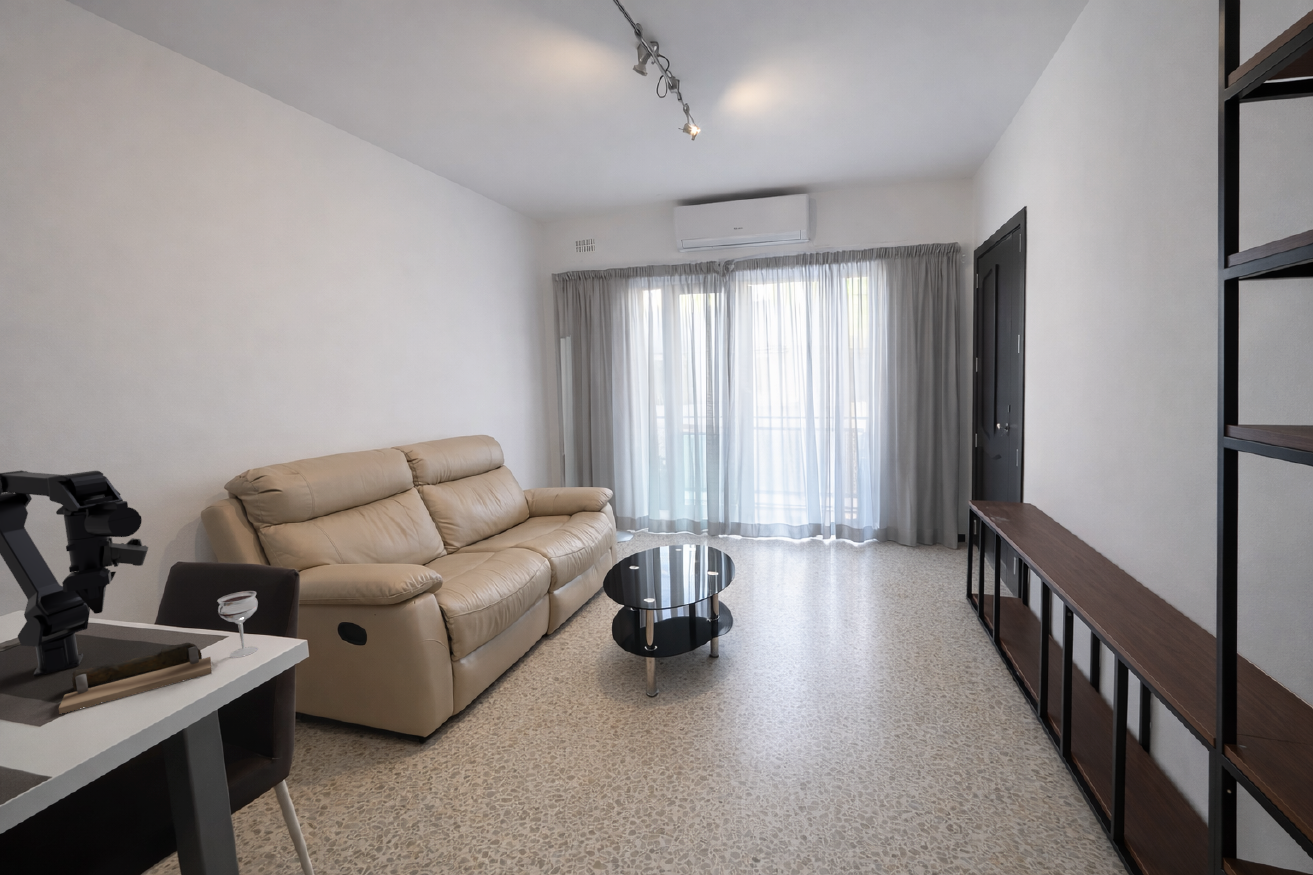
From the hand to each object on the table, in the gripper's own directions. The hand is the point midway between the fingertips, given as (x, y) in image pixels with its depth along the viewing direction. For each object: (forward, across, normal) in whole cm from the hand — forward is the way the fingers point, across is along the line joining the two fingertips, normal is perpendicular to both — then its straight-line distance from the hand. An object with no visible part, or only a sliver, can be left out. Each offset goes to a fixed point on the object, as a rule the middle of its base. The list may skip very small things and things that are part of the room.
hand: (98, 612), depth 115 cm
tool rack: (+12, -14, -6) cm, 19 cm away
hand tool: (+12, -7, -6) cm, 15 cm away
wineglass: (+12, -10, -22) cm, 27 cm away
